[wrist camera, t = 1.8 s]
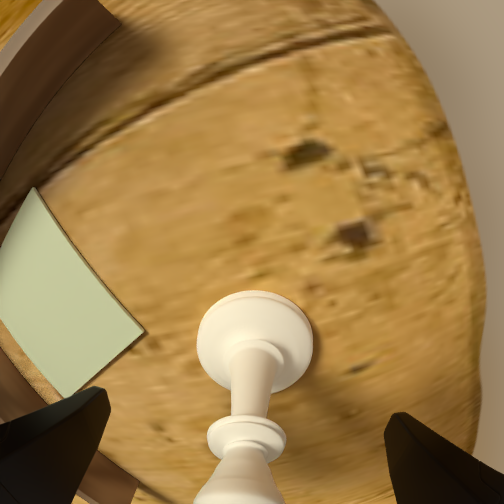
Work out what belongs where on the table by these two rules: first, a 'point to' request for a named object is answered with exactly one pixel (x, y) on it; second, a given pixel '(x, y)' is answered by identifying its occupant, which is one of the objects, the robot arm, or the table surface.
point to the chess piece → (250, 389)
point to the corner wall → (5, 146)
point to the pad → (58, 301)
